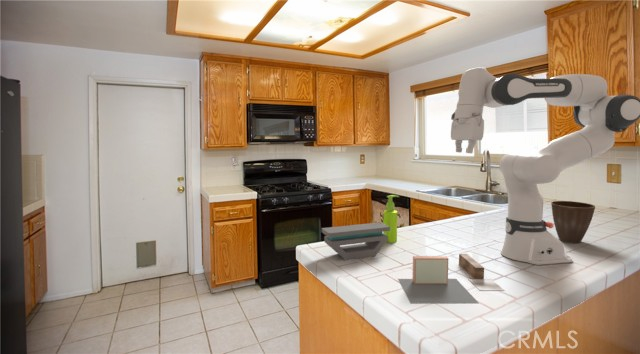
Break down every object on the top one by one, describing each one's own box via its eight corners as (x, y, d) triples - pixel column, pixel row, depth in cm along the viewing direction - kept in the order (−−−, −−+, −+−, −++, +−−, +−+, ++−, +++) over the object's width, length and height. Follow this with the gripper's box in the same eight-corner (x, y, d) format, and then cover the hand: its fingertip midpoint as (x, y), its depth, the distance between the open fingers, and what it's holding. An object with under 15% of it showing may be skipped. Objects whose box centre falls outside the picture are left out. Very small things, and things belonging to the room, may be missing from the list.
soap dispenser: (401, 241, 147) (402, 195, 144) (388, 243, 144) (388, 196, 142) (393, 237, 152) (394, 193, 150) (380, 239, 150) (381, 194, 147)
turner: (452, 266, 117) (452, 253, 117) (472, 266, 117) (473, 253, 117) (479, 293, 97) (480, 278, 96) (504, 293, 96) (505, 278, 96)
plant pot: (599, 242, 141) (602, 205, 140) (581, 248, 134) (584, 208, 133) (560, 234, 155) (562, 199, 153) (541, 239, 148) (544, 203, 146)
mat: (456, 280, 105) (456, 278, 105) (479, 305, 89) (479, 303, 89) (397, 280, 105) (397, 278, 105) (410, 305, 90) (410, 303, 89)
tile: (445, 281, 103) (446, 255, 102) (447, 284, 101) (448, 258, 100) (412, 281, 103) (412, 256, 102) (414, 284, 101) (414, 258, 100)
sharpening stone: (379, 248, 137) (379, 222, 136) (389, 254, 130) (390, 226, 129) (321, 256, 129) (321, 228, 128) (329, 262, 122) (328, 233, 121)
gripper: (491, 112, 111) (485, 154, 112) (466, 117, 131) (461, 152, 133) (472, 111, 111) (466, 153, 112) (449, 115, 131) (445, 151, 133)
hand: (463, 152), depth 123 cm, fingers open, 8 cm apart
